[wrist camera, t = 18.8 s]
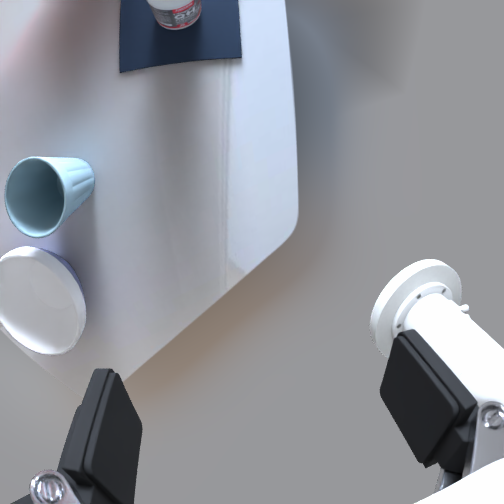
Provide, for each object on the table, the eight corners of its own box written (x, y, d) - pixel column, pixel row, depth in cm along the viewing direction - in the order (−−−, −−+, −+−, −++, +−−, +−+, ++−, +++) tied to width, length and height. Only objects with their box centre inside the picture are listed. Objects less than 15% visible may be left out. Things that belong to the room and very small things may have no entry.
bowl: (8, 230, 32) (-22, 250, 25) (94, 233, 35) (70, 256, 28) (26, 319, 37) (5, 347, 30) (105, 330, 40) (91, 364, 33)
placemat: (235, -35, 24) (235, -36, 24) (241, 57, 29) (241, 57, 29) (122, -21, 23) (122, -21, 23) (120, 72, 28) (119, 72, 28)
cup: (76, 224, 34) (37, 254, 24) (40, 181, 31) (-7, 198, 21) (115, 182, 33) (80, 200, 23) (77, 137, 30) (32, 140, 20)
